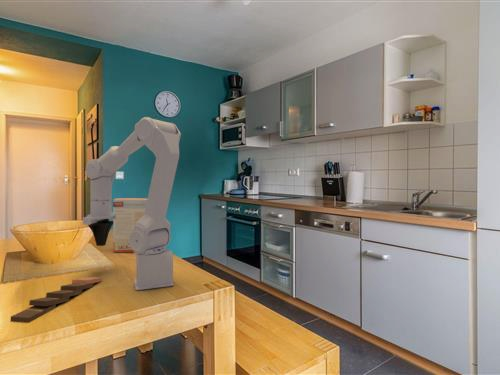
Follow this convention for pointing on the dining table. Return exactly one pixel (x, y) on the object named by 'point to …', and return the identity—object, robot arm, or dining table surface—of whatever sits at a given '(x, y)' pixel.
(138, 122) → the robot arm
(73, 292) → the domino
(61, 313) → the dining table surface
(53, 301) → the domino
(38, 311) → the domino
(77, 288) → the domino
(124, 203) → the cracker box
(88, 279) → the domino
